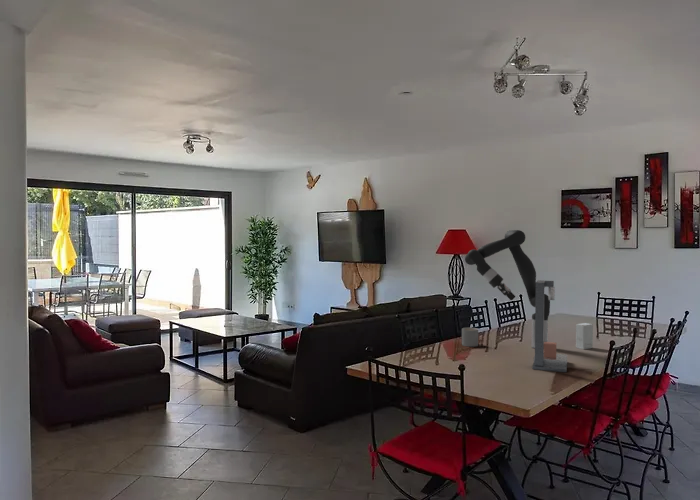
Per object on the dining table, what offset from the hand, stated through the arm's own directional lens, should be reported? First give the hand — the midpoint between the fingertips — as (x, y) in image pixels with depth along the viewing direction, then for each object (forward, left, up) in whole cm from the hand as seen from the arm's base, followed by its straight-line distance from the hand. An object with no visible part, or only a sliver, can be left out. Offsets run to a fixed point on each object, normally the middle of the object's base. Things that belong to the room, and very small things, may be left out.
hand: (513, 298), depth 294 cm
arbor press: (+16, +20, -32) cm, 41 cm away
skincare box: (-40, +37, -33) cm, 64 cm away
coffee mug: (-22, -28, -33) cm, 48 cm away
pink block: (+12, +20, -28) cm, 37 cm away
